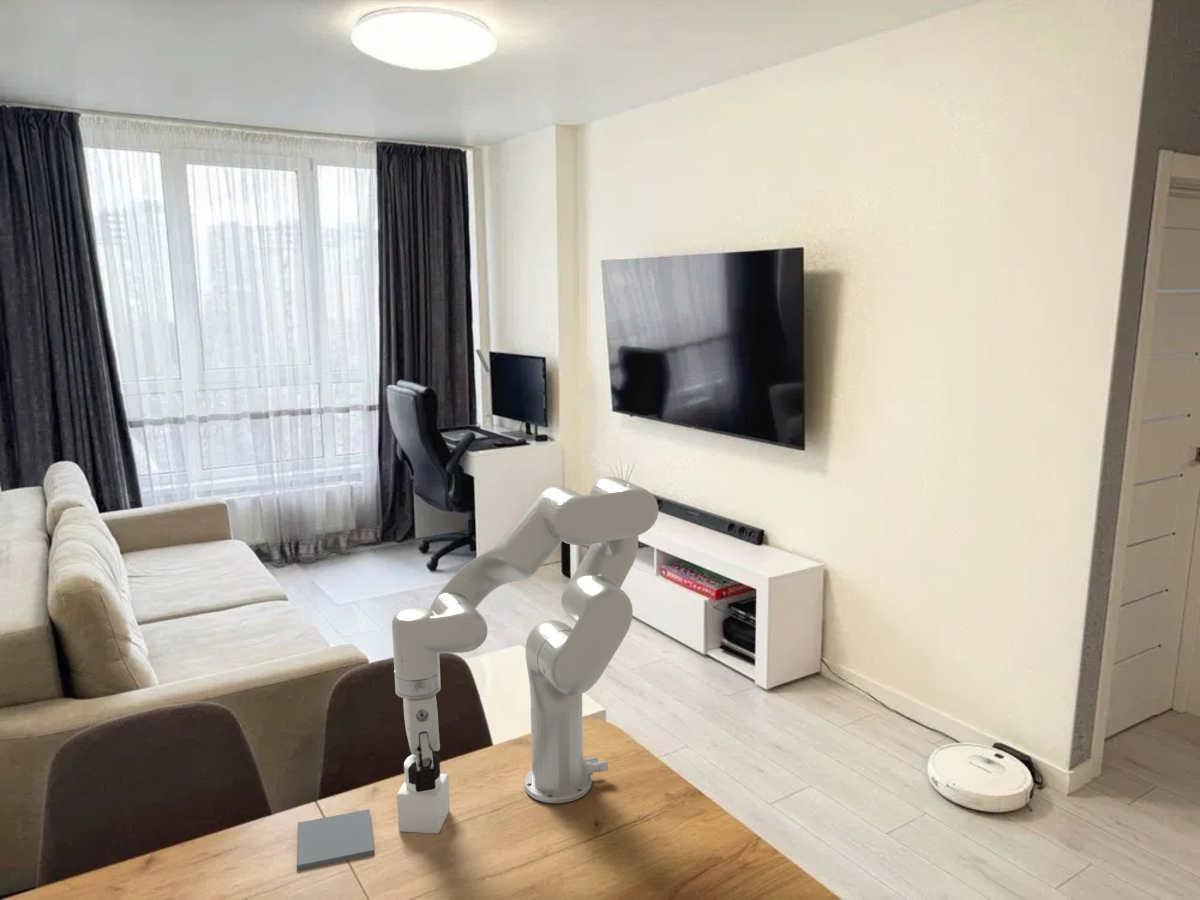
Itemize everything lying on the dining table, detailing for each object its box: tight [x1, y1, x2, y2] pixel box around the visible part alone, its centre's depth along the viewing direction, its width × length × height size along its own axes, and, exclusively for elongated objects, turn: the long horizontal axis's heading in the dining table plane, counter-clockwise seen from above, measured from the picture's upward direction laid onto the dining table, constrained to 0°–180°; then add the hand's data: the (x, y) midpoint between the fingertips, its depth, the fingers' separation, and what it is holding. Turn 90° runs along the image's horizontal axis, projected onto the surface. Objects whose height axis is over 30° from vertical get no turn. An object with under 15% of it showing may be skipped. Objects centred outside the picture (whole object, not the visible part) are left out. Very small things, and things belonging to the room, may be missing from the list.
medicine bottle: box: [396, 752, 451, 834], centre depth 147 cm, size 7×7×12 cm
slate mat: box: [296, 808, 375, 871], centre depth 143 cm, size 12×12×1 cm
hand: (422, 775), depth 147 cm, fingers open, 8 cm apart
